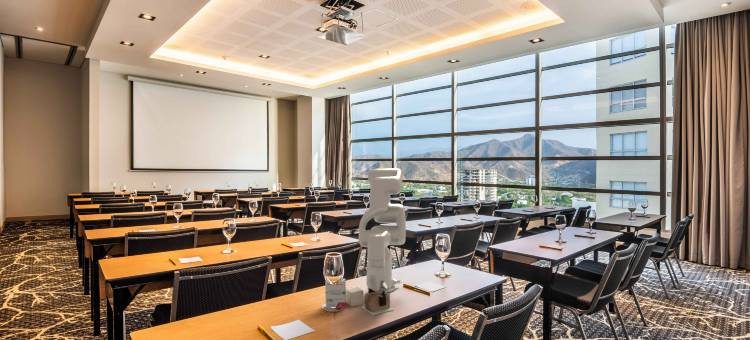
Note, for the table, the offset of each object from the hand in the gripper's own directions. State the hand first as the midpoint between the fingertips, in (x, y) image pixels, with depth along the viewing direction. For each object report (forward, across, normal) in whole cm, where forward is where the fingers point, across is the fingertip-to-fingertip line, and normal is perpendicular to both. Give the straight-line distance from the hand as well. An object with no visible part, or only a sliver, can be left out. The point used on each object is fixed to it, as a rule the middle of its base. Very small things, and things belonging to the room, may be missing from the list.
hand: (377, 302), depth 170 cm
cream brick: (+3, -12, -5) cm, 13 cm away
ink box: (+3, -12, -14) cm, 19 cm away
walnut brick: (+2, 0, 0) cm, 3 cm away
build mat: (+3, 0, 0) cm, 3 cm away
